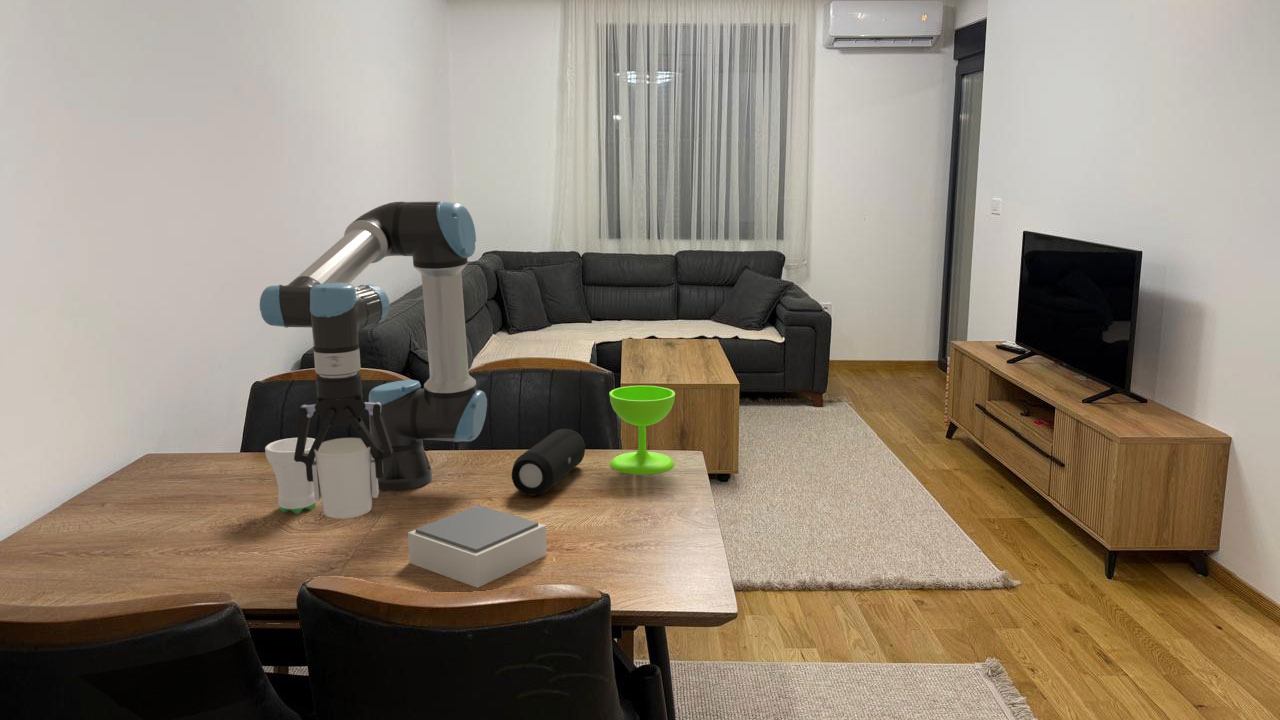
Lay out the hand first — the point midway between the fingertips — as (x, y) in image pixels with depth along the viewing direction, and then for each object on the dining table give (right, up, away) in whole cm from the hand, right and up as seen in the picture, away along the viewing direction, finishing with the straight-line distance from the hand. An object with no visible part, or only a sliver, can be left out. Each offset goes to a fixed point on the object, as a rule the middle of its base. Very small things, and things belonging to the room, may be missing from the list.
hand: (347, 496), depth 174 cm
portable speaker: (+31, -4, +55) cm, 63 cm away
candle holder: (0, -3, +1) cm, 3 cm away
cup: (-22, -8, +37) cm, 43 cm away
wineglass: (+53, -2, +67) cm, 85 cm away
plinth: (+22, -13, +10) cm, 27 cm away
